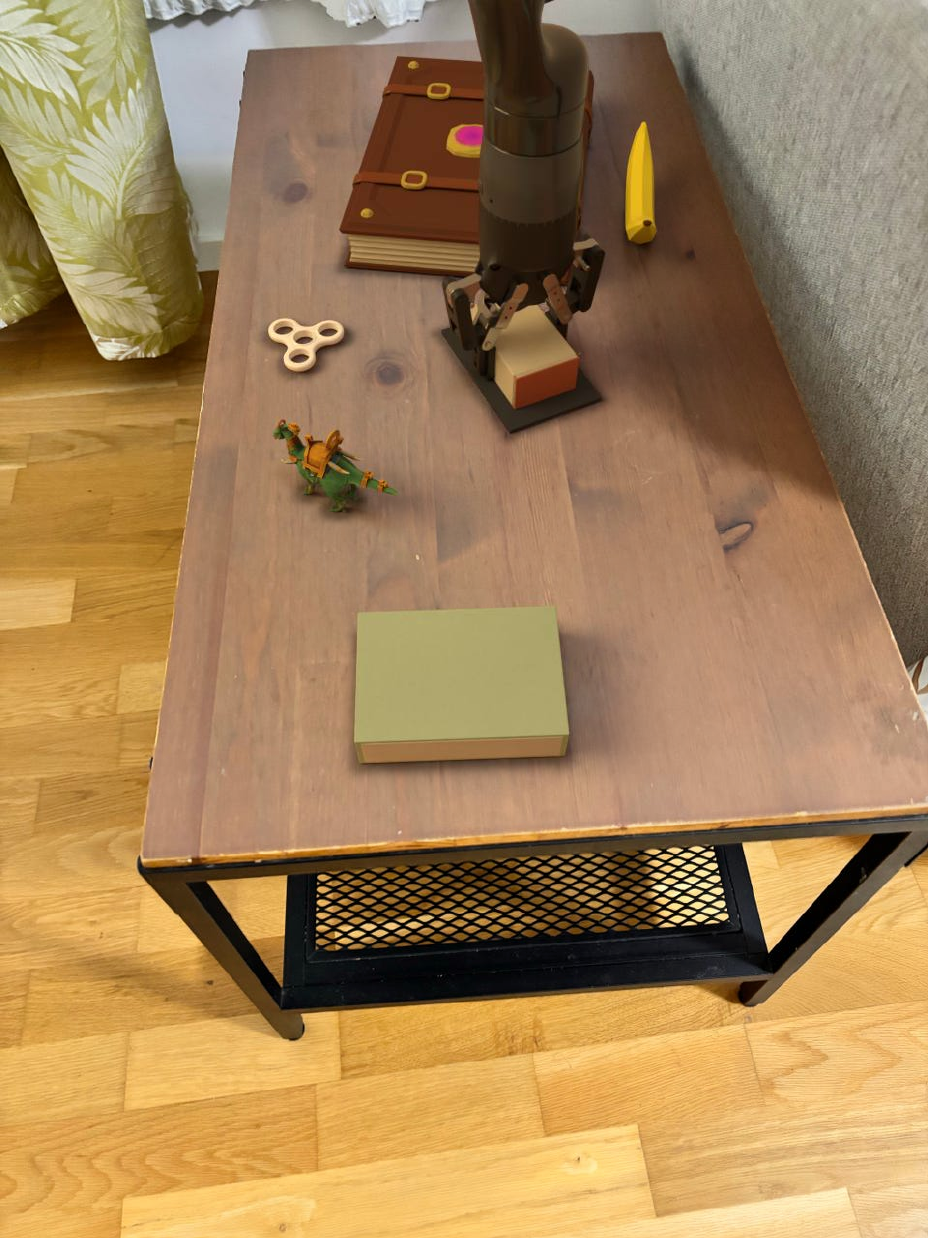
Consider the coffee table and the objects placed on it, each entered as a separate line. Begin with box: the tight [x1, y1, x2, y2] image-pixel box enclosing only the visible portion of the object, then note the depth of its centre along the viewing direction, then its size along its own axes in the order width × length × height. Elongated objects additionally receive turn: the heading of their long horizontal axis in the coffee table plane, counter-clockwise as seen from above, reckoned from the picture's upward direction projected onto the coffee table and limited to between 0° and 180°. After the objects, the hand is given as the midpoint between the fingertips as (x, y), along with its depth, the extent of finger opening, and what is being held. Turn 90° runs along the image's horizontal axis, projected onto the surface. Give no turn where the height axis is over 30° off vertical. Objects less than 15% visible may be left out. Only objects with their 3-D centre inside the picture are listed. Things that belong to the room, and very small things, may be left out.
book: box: [339, 55, 595, 285], centre depth 96 cm, size 23×32×5 cm
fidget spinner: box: [267, 317, 345, 372], centre depth 84 cm, size 7×6×1 cm
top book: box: [470, 303, 580, 410], centre depth 81 cm, size 10×6×4 cm, turn 26°
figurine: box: [272, 418, 399, 513], centre depth 71 cm, size 3×12×8 cm, turn 57°
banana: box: [624, 121, 658, 245], centre depth 91 cm, size 3×19×6 cm, turn 175°
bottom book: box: [353, 605, 570, 764], centre depth 64 cm, size 14×10×4 cm
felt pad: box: [440, 326, 603, 434], centre depth 83 cm, size 14×9×1 cm, turn 26°
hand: (519, 361), depth 82 cm, fingers closed on top book, 6 cm apart
